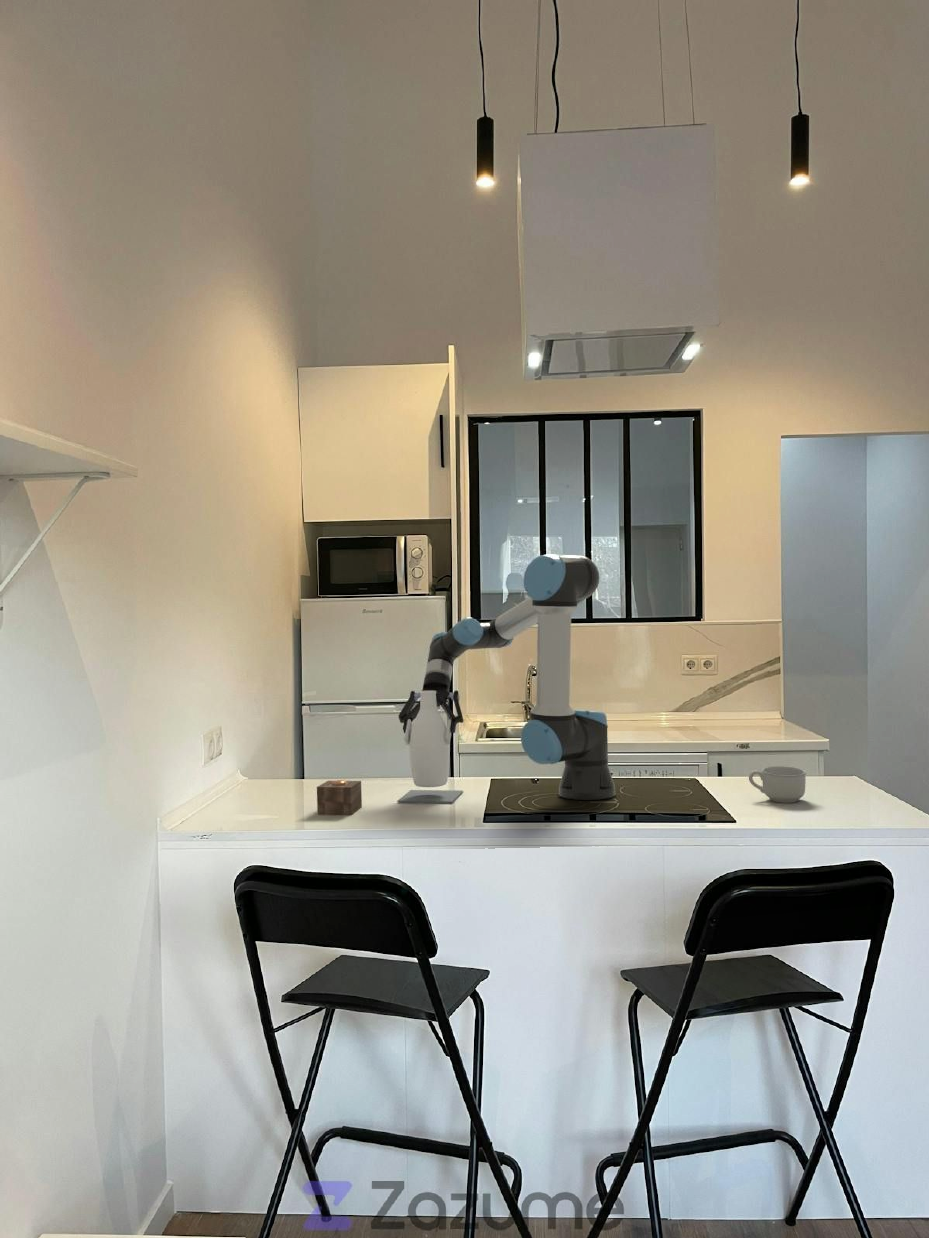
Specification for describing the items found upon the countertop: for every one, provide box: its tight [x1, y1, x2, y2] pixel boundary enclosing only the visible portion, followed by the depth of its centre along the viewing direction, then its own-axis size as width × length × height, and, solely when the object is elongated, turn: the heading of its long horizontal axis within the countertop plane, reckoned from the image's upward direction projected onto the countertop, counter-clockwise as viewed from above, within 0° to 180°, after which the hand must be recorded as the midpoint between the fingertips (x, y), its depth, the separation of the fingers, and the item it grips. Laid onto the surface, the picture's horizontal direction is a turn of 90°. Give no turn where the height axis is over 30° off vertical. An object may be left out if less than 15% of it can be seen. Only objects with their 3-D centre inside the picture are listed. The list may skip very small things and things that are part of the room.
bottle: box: [408, 690, 451, 788], centre depth 261 cm, size 11×11×25 cm
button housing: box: [316, 780, 363, 816], centre depth 247 cm, size 9×9×7 cm
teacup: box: [748, 765, 807, 804], centre depth 246 cm, size 14×11×8 cm
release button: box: [328, 779, 350, 786], centre depth 247 cm, size 4×4×6 cm
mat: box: [396, 789, 464, 805], centre depth 261 cm, size 15×15×1 cm
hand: (426, 741), depth 258 cm, fingers closed on bottle, 11 cm apart
